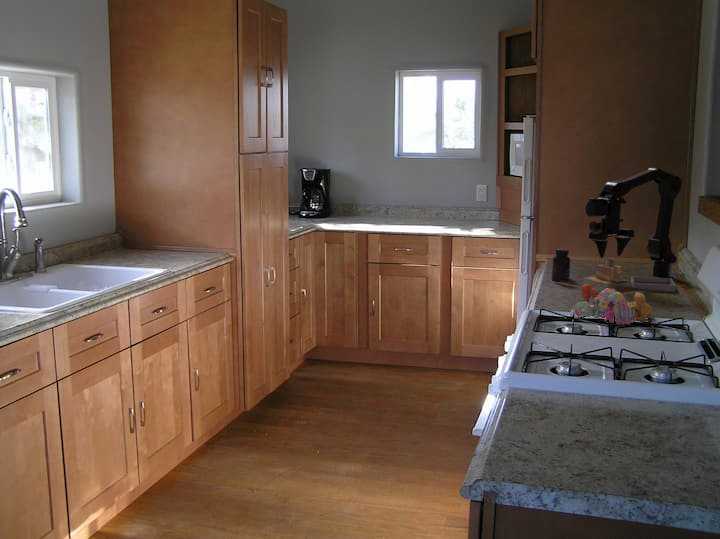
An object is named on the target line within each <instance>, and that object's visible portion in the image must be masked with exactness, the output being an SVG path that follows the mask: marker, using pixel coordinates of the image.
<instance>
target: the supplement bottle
mask: <svg viewBox="0 0 720 539" xmlns="http://www.w3.org/2000/svg"><path fill="white" fill-rule="evenodd" d="M554 254H555V255H554V256H553V257H552V260H551V264H552V265H551V281H553V282H557V283H562V281H570V279H571V267H572V265H571V264H572V258H571V257H570V256H569V255H570V254H569V249H567V248H566V249H565V248H556V249H555V252H554Z"/></svg>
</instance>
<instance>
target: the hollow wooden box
mask: <svg viewBox="0 0 720 539" xmlns="http://www.w3.org/2000/svg"><path fill="white" fill-rule="evenodd" d="M622 269H623V266H621V265H616V264H613V267H606V263H605V264H597V265H596V273H595V274H596V275H595V276H596V278H598V279H603V280H607V281H621V282H623V281H622V279H623V275H622V272H623V270H622Z"/></svg>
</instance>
